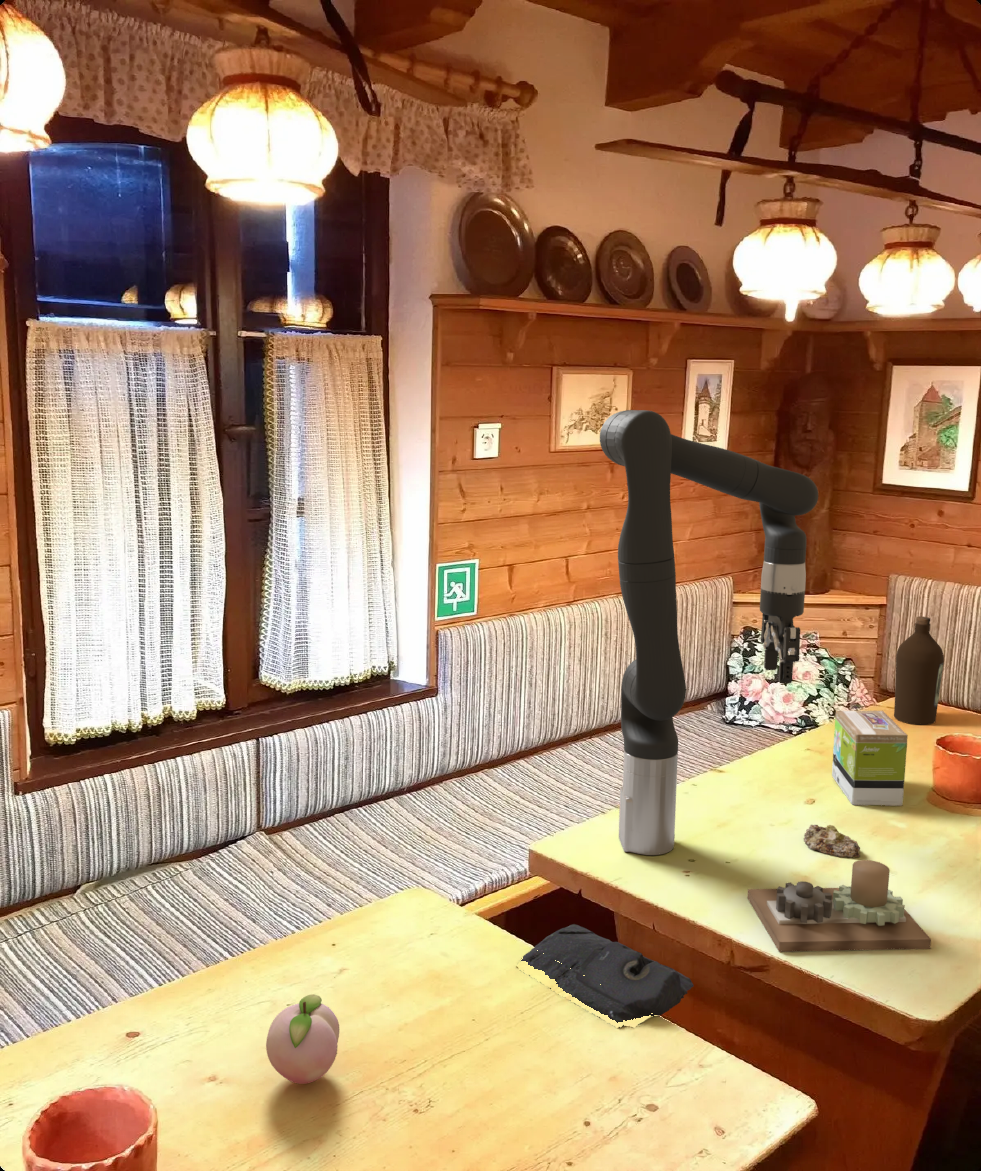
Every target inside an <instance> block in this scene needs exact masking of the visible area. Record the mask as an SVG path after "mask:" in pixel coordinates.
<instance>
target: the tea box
mask: <svg viewBox="0 0 981 1171" xmlns="http://www.w3.org/2000/svg"><path fill="white" fill-rule="evenodd" d="M835 710H836V711H835V714H834V716H835V717H834V718H835V719H834V733H833V735H834V736H833V750H832V752H833V753H832V765H831V766H832V767H831V768H832V770H831V771H832V772H831V773H832V774H831V776H832V778H833V779H834V781H835V782H836V784H837V785H838V787H839V788H840V789H841V791H842V792H843V794H844V795H845V796H846V798H847V799H848V801H849V802H850V804H851V806H868V805H881V806H882V805H885V806H886V807H893V806H895V807H898V806H899V807H900V806H903V805H904V804H903V801H904V791H905V790H904V789H905V788H904V787H905V777H906V763H907V750H908V734H907V733H906V732H905V731H904V730H903V729H902V728H901V727H900V726H899V725H898V724H897V723H896V722H895V721H894V720H893V719H892V718H891V717H890V716H889V715H888V714H887V713H886V712H885V711H884V710H837V709H835ZM885 806H884V807H885ZM882 807H883V806H882Z"/></svg>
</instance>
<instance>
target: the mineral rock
mask: <svg viewBox="0 0 981 1171" xmlns="http://www.w3.org/2000/svg"><path fill="white" fill-rule="evenodd" d="M803 836H804V837H803V842H804V844H805V845H806V846H807V848H808V849H809V850H813V851H817V852H819V853H821V854H826V855H830V856H835V857H838V858H843V857H845V858H849V859H850V858H851V859H852V857H853V858H854V857H855V858H859V857H860V856H861V855H860V851H861V846H860V845H859V843H858V841H857V840H854V839H852V838H851V837H850V836H848V835H846V834H843V833H842V832H839V831H838V828H837V827H835V825H831V824H829V825H826V826H824V827H823V826H819V824H810V825H809V826H808V828H806V831H805V832H804V835H803Z"/></svg>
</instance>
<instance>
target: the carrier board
mask: <svg viewBox="0 0 981 1171" xmlns="http://www.w3.org/2000/svg"><path fill="white" fill-rule="evenodd" d="M784 886H785V887H783V886H778V887H777V888H749V889H748V888H747V897H746V898H747V900H748V902H749V903H750V905H751V907H752V908H753V910H754V912H755V913H756V915H757V917H758V919H759V921H760V922H761V924H762V926H763V927H764V929H765V930H766V932H767V934H768V936H769V937H770V939H771V941H772V942H773V944H774V946H775V947H776V949H777V951H778V953H781V952H784V953H785V952H786V953H787V952H826V951H827V952H829V951H831V952H832V951H833V952H834V951H836V952H837V951H840V952H841V951H883V950H884V951H885V950H888V951H889V950H890V951H891V950H931V943H932V938H931V937H930V936H929V935H928V934H927V933H926V931H925V930H924V929H923V928H922V927H921V925H920V924H918V923H917V921H916V920H915V919H914V918H913V916H911V914H909V912H908V911H907V909H905V908H904V916H903V918H902V917H899V922H897V923H895V924H894V923H892V922H885V925H882V926H878V924H877V923H876V922H866V924H863V923H859V921H860V919H857V918H854V917H851V918H849V919H847V918H846V917H844V916H843V911H836V910H835V909H834V902H833V892H834V890H836V891H839V887H821V886H820V885H816V886H814V884H812V883H811V882H808V881H803V880H802V881H798V882H796V884H793V883H792V882H786V883H785V885H784ZM892 896H893V897H895V896H894V895H892Z"/></svg>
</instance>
